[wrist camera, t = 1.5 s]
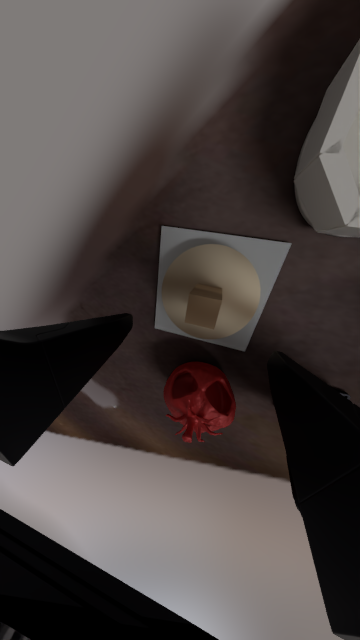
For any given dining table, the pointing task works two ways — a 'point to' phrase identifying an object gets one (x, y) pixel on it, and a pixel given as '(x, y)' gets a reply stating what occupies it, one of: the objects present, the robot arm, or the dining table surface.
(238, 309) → the lid
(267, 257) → the mat
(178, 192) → the dining table surface
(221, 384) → the pomegranate
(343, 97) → the bowl
